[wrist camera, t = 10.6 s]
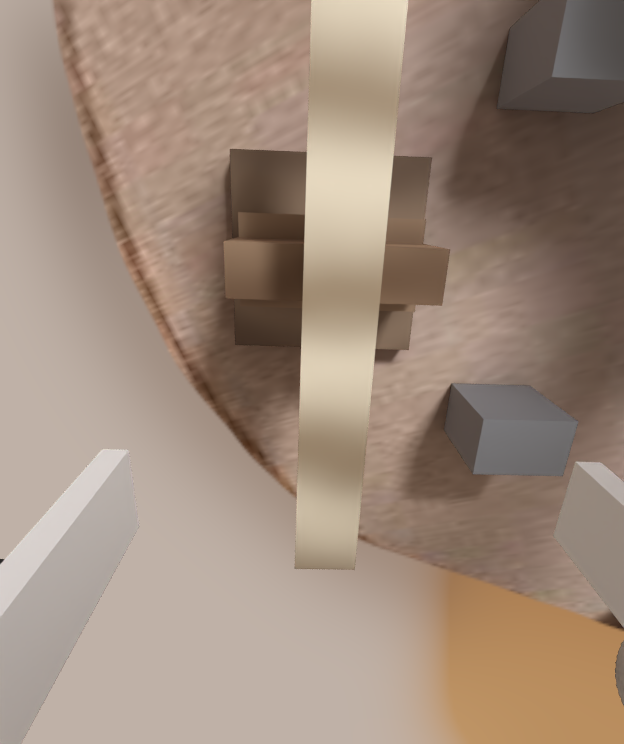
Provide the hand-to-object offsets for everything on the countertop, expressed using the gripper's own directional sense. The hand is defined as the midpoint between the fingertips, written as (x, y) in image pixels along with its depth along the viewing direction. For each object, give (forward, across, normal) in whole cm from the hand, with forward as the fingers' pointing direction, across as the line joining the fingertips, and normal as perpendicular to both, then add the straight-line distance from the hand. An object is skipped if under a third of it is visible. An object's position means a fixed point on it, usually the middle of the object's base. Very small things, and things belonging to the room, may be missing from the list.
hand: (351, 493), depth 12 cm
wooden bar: (+9, 0, +5) cm, 10 cm away
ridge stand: (+19, 0, +5) cm, 19 cm away
